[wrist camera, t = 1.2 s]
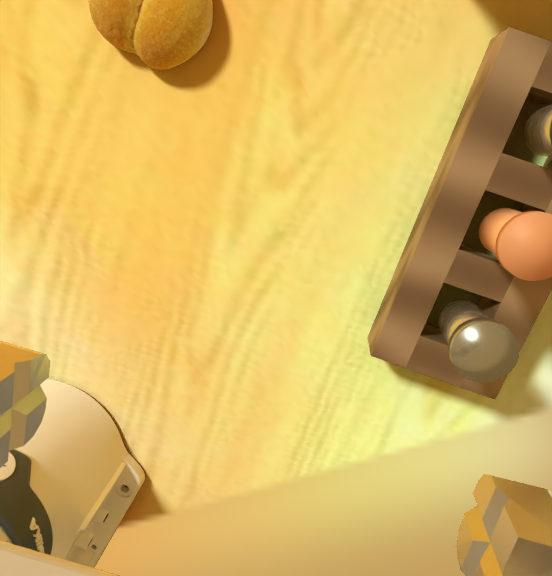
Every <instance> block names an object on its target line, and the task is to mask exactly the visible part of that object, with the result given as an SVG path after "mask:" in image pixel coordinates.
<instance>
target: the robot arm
mask: <svg viewBox="0 0 552 576" xmlns="http://www.w3.org/2000/svg"><path fill="white" fill-rule="evenodd" d="M49 368H50V360H49V358H48V357H47V355H46V354H43V353H40V352H37V351H33V350H30V349H26V348H23V347H20V346H16V345H13V344H9V343H6V342H3V341H0V576H118V575H115V574H112V573H108V572H105V571H102V570H98V569H95V568H94V567H95V565H96V564H97V562H98V560H99V558H100V557H101V555H102V553H103V552H104V550H105V548H106V546H107V545H108V543H109V541H110V540H111V538H112V536H113V534H114V533H115V531H116V529H117V528H118V526H119V524H120V522H121V521H122V519H123V517H124V515H125V514H126V512H127V510H128V509H129V507H130V505H131V503H132V502H133V500H134V498H135V496H136V495H137V493H138V491H139V490H140V488H141V486H142V484H143V483H144V480H145V474H144V471H143V470H142V468H141V467H140V465H139V464H138V463H137V462H136V461H135V460H134V458H133V457H132V456H131V455H130V454H129V453H128V452H127V450H126V448H125V446H124V444H123V441H122V438H121V436H120V433H119V431H118V429H117V427H116V425H115V423H114V421H113V420H112V418H111V417H110V416H109V414H108V413H107V412H106V411H105V409H104V408H103V407H102V406H101V405H100V404H99V403H98V402H97V401H95V400H94V399H93V398H92V397H90V396H89V395H88V394H86V393H84V392H83V391H81V390H79V389H77V388H75V387H73V386H71V385H68V384H66V383H63V382H59V381H55V380H49V379H47V378H48V377H49ZM124 485H126V486H128V487H129V488H126V487H125V486H124ZM473 494H474V497H475V500H476V503H477V506H476V507H475V508H473V509H471V510H470V511H468V512H466V513H465V514H464V517H463V520H462V522H461V525H460V528H459V533H458V540H457V555H458V561H459V565H460V569H461V571H462V572H463V573H464V574H465V575H466V576H552V490H548V489H544V488H540V487H535V486H531V485H527V484H523V483H519V482H515V481H511V480H507V479H502V478H499V477H494V476H491V475H483V476H482V477H481V478H480V480H479V481H478V483H477V485H476V487H475V490H474V492H473Z"/></svg>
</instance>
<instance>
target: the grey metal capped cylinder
mask: <svg viewBox="0 0 552 576" xmlns="http://www.w3.org/2000/svg"><path fill="white" fill-rule="evenodd" d="M438 324H439V328H440V330H441V332H442V334H443V335H444V337H445V339H446V341H447V342H448V354H449V357H450V360H451V362H452V363H453V365H454V367H455V369H456V370H457V372H458V373H459V374H460V375H462V376H463V377H464V378H466V379H468V380H470V381H473V382H478V383H489V382H493V381H497V380H499V379H501V378H503V377H504V376H506V375H507V374H508V373H509V372H510V371H511V370H512V369H513V368H514V366H515V364H516V362H517V360H518V356H519V346H518V342H517V340H516V338H515V336H514V335H513V333H512V332H511V331H510V330H509V329H508V328H507V327H506V326H505V325H504V324H502V323H501V322H499V321H497V320H495V319H492V318H489V317H488V316H487V315H486V314H485V313H484V312H483V311H482V310H481V309H480V308H479V307H478V306H477V305H476V304H475V303H473V302H471V301H468V300H456V301H453V302H451V303H449V304H448V305H446V306H445V307H444V308H443V310H442V311H441V313H440V315H439V320H438Z"/></svg>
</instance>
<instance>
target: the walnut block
mask: <svg viewBox="0 0 552 576" xmlns="http://www.w3.org/2000/svg"><path fill="white" fill-rule="evenodd" d="M526 98H527V99H530V100H533V101H536V102H539V103H542V104H545V105H552V41H549V40H546V39H543V38H540V37H537V36H534V35H531V34H528V33H526V32H523V31H520V30H517V29H514V28H511V27H509V28H507V29H506V30H504V31H503V32H502V33H500V34H499V35H497V36H496V37H495V38H493V39H492V40H491V41H490V43H489V46H488V48H487V51H486V53H485V56H484V58H483V60H482V63H481V65H480V68H479V70H478V72H477V75H476V77H475V80H474V82H473V84H472V87H471V89H470V92H469V94H468V97H467V99H466V101H465V104H464V106H463V109H462V111H461V113H460V116H459V118H458V121H457V123H456V126H455V128H454V130H453V133H452V135H451V138H450V140H449V142H448V145H447V147H446V150H445V152H444V154H443V157H442V159H441V162H440V164H439V167H438V169H437V171H436V174H435V176H434V179H433V181H432V183H431V186H430V188H429V191H428V193H427V195H426V198H425V200H424V203H423V205H422V208H421V210H420V212H419V215H418V217H417V220H416V222H415V224H414V227H413V229H412V232H411V234H410V237H409V239H408V241H407V244H406V246H405V249H404V251H403V253H402V256H401V258H400V261H399V263H398V265H397V268H396V270H395V273H394V275H393V278H392V280H391V282H390V285H389V287H388V290H387V292H386V294H385V297H384V299H383V302H382V304H381V306H380V309H379V311H378V314H377V316H376V319H375V321H374V323H373V326H372V328H371V331H370V333H369V335H368V342H369V347H370V353H371V356H373V357H376V358H379V359H382V360H385V361H387V362H390V363H393V364H396V365H399V366H402V367H404V368H407V369H410V370H413V371H416V372H418V373H421V374H424V375H427V376H430V377H433V378H435V379H438V380H441V381H444V382H447V383H450V384H452V385H455V386H458V387H461V388H464V389H467V390H469V391H472V392H475V393H478V394H481V395H484V396H486V397H489V398H492V399H495V398H496V396H497V394H498V393H499V391H500V389H501V387H502V385H503V383H504V381H505V379H506V377H507V375H508V374H507V375H506V376H504V377H503V378H501V379H499V380H497V381H493V382H489V383H478V382H473V381H470V380H468V379H466V378H464V377H463V376H462V375H460V374H459V373H458V372H457V370H456V369H455V367H454V365H453V363H452V362H451V360H450V357H449V354H448V342H447V341H446V339H445V337H444V335H443V334H442V332H441V330H440V328H437V327H434V326H431V325H428V324H425V323H426V321H427V319H428V317H429V314H430V312H431V310H432V308H433V305H434V303H435V301H436V299H437V296H438V294H439V292H440V290H441V287H442V285H443V283H447V284H450V285H453V286H455V287H458V288H461V289H464V290H467V291H470V292H473V293H475V294H478V295H481V296H482V297H481V299H480V301H479V303H478V305H477V306H478V307H479V308H480V309H481V310H482V311H483V312H484V313H485V314H486V315H487V316H488V317H489V318H492V319H495V320H497V321H499V322H501V323H502V324H504V325H505V326H506V327H507V328H508V329H509V330H510V331H511V332H512V333H513V335H514V336H515V338H516V340H517V342H518V346H519V352H520V350H521V348H522V346H523V344H524V342H525V340H526V338H527V336H528V334H529V332H530V330H531V328H532V326H533V324H534V323H535V321H536V319H537V317H538V315H539V313H540V311H541V309H542V307H543V305H544V303H545V301H546V299H547V297H548V295H549V293H550V291H551V289H552V277H550V278H547V279H544V280H540V281H527V280H523V279H520V278H518V277H516V276H514V275H513V274H511V273H510V272H508V271H507V270H506V269H505V268H504V267H503V266H502V265H501V264H500V262H499V260H498V258H497V257H495V256H492V255H489V254H486V253H483V252H481V251H478V250H475V249H472V248H469V247H466V246H463V245H461V243H462V240H463V238H464V236H465V234H466V231H467V229H468V227H469V225H470V223H471V220H472V218H473V216H474V214H475V211H476V209H477V207H478V205H479V202H480V200H481V198H482V196H483V193H484V191H486V192H489V193H492V194H495V195H498V196H501V197H504V198H507V199H510V200H512V201H515V202H518V203H521V204H524V205H525V206H524V208H523V211H522V212H527V211H542V212H546V213H549V214H552V156H548V158H547V160H546V162H545V164H544V166H543V167H542V166H539V165H536V164H533V163H530V162H527V161H524V160H521V159H518V158H515V157H513V156H510V155H507V154H504V153H502V151H503V149H504V146H505V144H506V142H507V140H508V137H509V135H510V133H511V131H512V129H513V126H514V124H515V122H516V120H517V117H518V115H519V113H520V111H521V108H522V106H523V104H524V102H525V99H526Z"/></svg>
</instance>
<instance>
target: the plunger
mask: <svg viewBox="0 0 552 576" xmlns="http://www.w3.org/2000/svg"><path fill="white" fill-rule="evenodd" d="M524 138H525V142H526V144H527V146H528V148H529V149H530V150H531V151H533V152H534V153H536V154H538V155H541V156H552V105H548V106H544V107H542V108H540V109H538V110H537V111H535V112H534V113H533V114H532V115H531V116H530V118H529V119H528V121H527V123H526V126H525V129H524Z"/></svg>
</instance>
